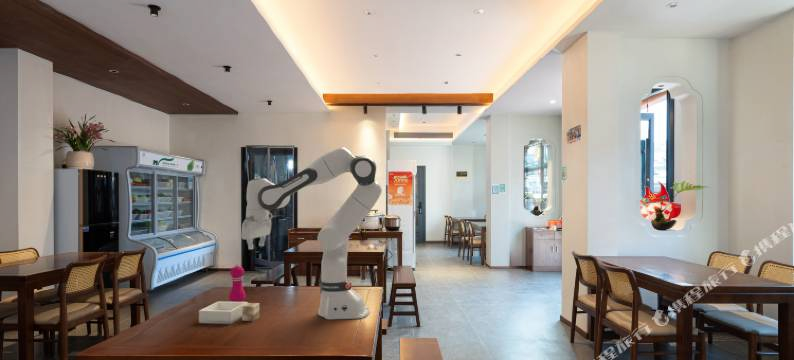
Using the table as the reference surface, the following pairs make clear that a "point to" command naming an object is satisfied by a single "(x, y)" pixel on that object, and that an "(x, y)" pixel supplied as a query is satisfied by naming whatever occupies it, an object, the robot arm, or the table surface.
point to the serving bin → (221, 312)
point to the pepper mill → (237, 284)
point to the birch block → (250, 312)
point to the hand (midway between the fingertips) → (256, 247)
